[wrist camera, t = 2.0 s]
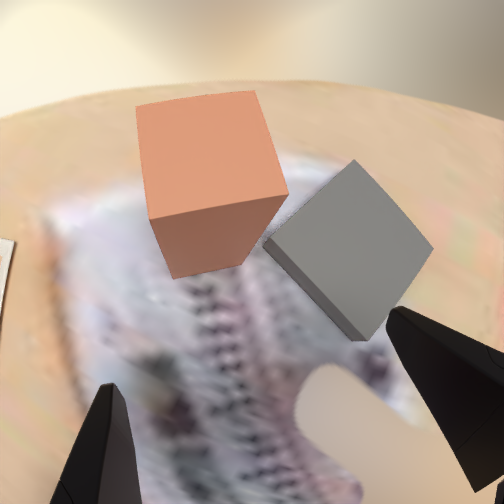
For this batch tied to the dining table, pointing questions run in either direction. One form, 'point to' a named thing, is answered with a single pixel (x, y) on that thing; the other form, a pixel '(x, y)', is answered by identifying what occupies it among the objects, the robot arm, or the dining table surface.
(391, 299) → the podium
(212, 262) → the carton
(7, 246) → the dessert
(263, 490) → the dining table surface
